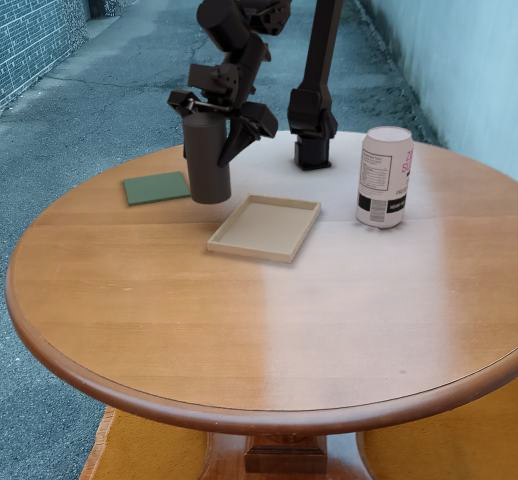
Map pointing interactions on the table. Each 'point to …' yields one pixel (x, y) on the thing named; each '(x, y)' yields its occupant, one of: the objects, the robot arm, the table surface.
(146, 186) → the plate
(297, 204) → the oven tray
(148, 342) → the table surface
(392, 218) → the supplement can
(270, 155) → the table surface
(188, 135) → the dark grey cylinder
